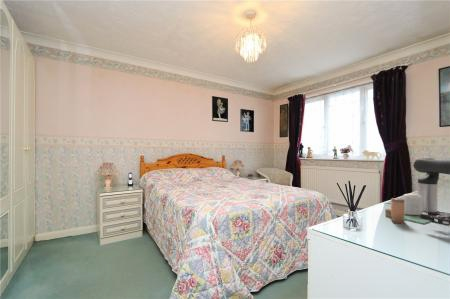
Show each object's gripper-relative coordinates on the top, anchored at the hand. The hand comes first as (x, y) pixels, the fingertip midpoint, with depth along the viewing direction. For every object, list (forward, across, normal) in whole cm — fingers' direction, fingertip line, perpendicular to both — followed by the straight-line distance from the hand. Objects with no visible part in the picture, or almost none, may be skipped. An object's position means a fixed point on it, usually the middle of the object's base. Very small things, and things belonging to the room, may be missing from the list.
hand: (424, 214), depth 107 cm
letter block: (+18, -8, +7) cm, 20 cm away
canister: (+11, 0, +7) cm, 13 cm away
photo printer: (+14, -24, +7) cm, 28 cm away
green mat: (+8, -12, +7) cm, 16 cm away
